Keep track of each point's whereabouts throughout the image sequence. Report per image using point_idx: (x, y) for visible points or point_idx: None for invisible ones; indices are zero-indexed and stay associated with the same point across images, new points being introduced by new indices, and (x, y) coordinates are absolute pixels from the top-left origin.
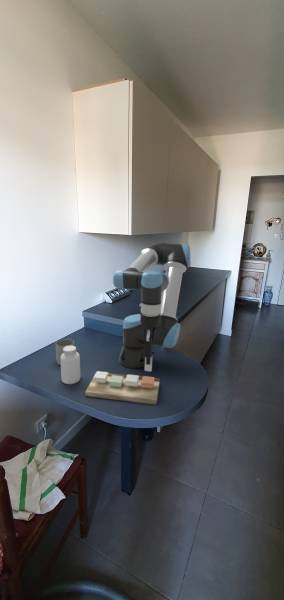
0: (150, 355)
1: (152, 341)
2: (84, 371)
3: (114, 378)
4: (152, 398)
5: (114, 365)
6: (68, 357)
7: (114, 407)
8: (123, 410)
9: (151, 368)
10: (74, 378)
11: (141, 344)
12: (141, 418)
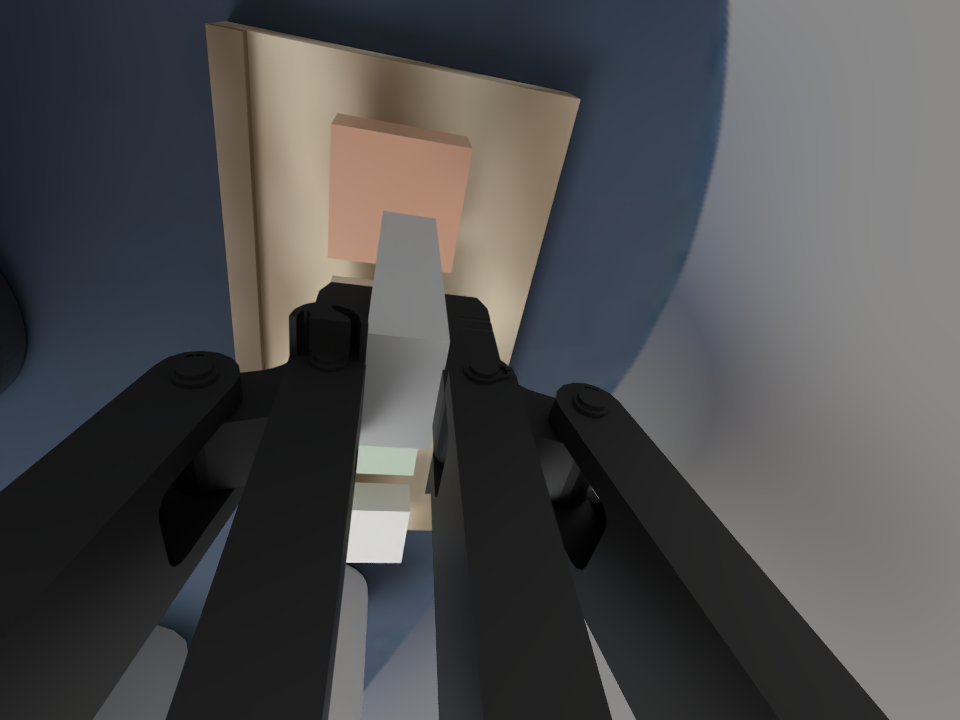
0: (642, 439)
1: (323, 691)
2: (215, 560)
3: (368, 452)
4: (556, 137)
5: (47, 434)
6: None
7: (567, 374)
8: (601, 326)
9: (433, 234)
10: (354, 596)
11: None
12: (697, 216)
